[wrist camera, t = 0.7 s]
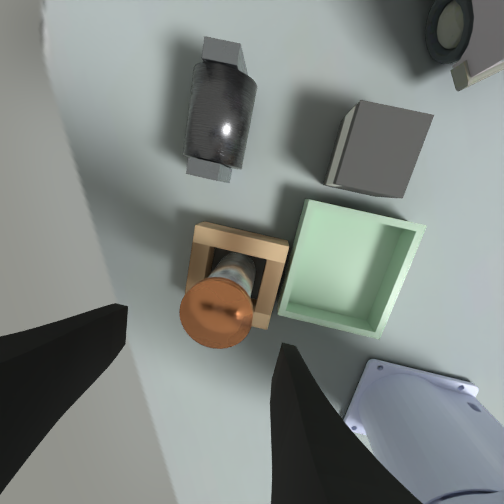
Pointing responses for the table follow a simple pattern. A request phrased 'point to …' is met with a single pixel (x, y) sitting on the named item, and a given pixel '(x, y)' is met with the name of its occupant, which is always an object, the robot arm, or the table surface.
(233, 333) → the pin
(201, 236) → the socket block
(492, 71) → the toy vehicle
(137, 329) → the table surface
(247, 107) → the trolley wheel
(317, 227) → the tray
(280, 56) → the table surface
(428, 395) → the robot arm
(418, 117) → the block
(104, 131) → the table surface
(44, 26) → the table surface
